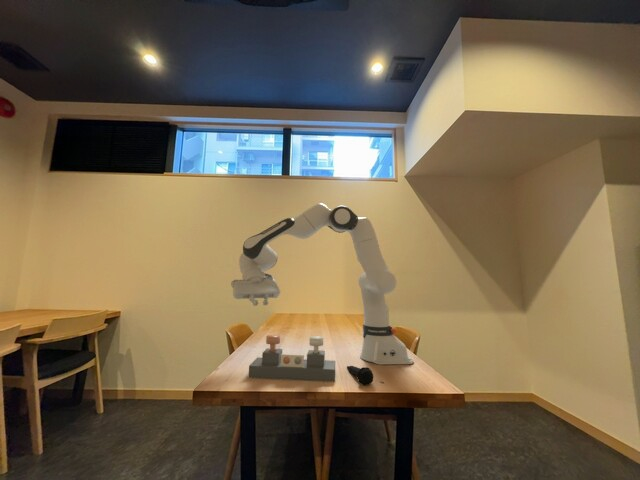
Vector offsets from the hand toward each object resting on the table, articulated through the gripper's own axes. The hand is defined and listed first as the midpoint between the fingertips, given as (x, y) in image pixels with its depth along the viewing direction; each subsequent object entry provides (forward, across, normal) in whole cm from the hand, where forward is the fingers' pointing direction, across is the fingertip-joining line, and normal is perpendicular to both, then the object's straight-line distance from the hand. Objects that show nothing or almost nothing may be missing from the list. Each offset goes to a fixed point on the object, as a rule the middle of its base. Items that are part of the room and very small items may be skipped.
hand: (261, 304), depth 114 cm
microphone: (+39, +25, -6) cm, 47 cm away
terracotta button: (+21, 0, +2) cm, 21 cm away
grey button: (+28, +13, -5) cm, 31 cm away
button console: (+29, +6, +4) cm, 30 cm away
